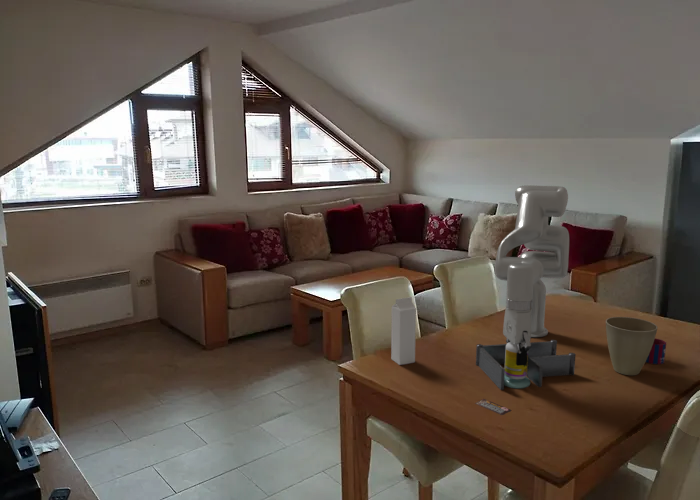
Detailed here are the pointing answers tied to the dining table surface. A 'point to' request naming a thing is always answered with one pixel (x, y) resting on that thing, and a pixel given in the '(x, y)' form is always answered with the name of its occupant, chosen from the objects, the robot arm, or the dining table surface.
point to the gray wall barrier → (539, 361)
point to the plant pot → (629, 343)
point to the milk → (403, 331)
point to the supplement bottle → (514, 362)
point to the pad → (516, 382)
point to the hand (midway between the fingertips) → (516, 359)
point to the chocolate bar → (493, 407)
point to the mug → (657, 352)
